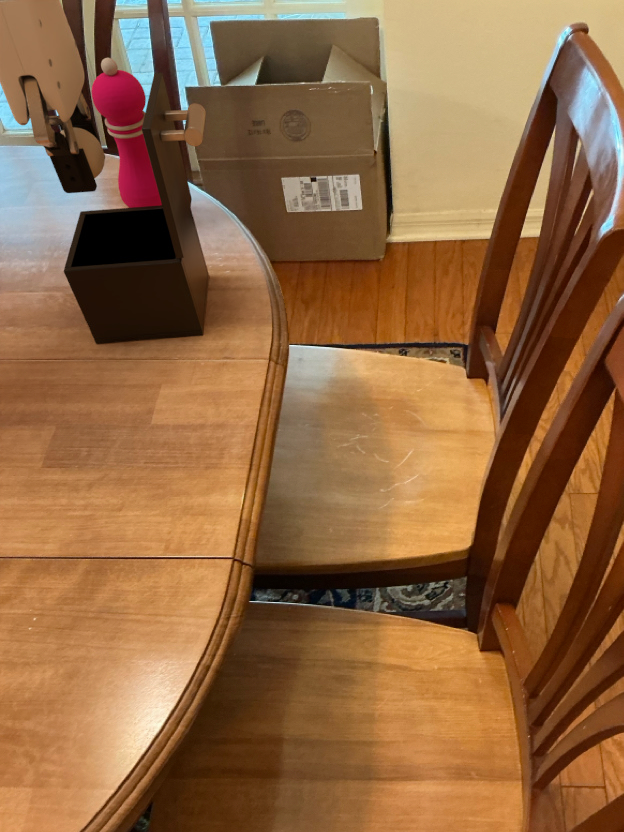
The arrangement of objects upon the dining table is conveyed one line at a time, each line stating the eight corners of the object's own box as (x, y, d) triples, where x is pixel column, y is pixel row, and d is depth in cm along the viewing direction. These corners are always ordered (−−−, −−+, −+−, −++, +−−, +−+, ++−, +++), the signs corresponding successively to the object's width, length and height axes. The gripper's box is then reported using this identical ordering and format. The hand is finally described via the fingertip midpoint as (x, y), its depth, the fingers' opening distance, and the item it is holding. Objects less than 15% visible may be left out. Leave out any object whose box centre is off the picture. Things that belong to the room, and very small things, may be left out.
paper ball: (59, 192, 76) (39, 144, 73) (68, 167, 79) (49, 119, 75) (107, 189, 77) (90, 141, 73) (114, 164, 79) (98, 116, 75)
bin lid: (141, 128, 70) (194, 126, 70) (154, 72, 77) (202, 70, 77) (176, 258, 81) (222, 256, 81) (184, 199, 88) (227, 197, 88)
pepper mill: (193, 223, 103) (148, 60, 86) (143, 242, 100) (87, 79, 84) (171, 199, 106) (124, 39, 90) (122, 217, 104) (65, 56, 88)
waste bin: (95, 344, 89) (63, 271, 81) (109, 283, 95) (80, 211, 88) (203, 335, 89) (181, 262, 81) (209, 275, 96) (189, 202, 88)
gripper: (-17, -72, 68) (64, 137, 83) (-72, 6, 58) (31, 226, 73) (68, -77, 68) (134, 132, 83) (28, -1, 58) (111, 220, 73)
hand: (85, 174), depth 78 cm, fingers closed on paper ball, 4 cm apart
